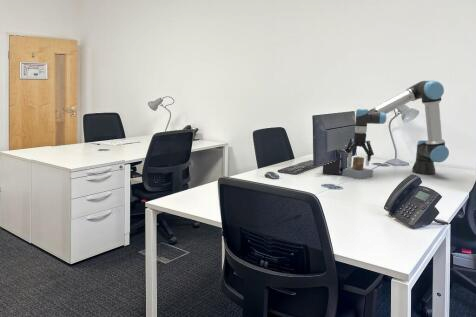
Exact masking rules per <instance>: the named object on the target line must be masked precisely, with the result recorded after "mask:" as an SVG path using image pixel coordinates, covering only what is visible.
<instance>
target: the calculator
mask: <svg viewBox="0 0 476 317" xmlns="http://www.w3.org/2000/svg"><path fill="white" fill-rule="evenodd" d="M340 158H341V153H337V160H336V161H335V162H332V163H329V164H326V165H323V164H322V174H323V175H332V176H333V175H335V176H340V170H341V169H340Z"/></svg>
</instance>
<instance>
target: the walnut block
mask: <svg viewBox="0 0 476 317" xmlns="http://www.w3.org/2000/svg"><path fill="white" fill-rule="evenodd" d="M364 162H365V157H360V156H355V157H353V156H352V167H353V168H352V169H354V170H363V168H364V165H365V164H364Z"/></svg>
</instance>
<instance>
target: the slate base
mask: <svg viewBox="0 0 476 317" xmlns="http://www.w3.org/2000/svg"><path fill="white" fill-rule="evenodd" d="M352 168H353V166H351V167H350V168H345V169H343V170H342V173H341V174H342V175H343V177H347V178H353V179H356V180H357V179H358V180H364V179H367V178H372V177H374V176H373V175H374V174H373V173H374V169H370V168H364V167H363V170H354V169H352ZM342 175H341V176H342Z"/></svg>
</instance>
